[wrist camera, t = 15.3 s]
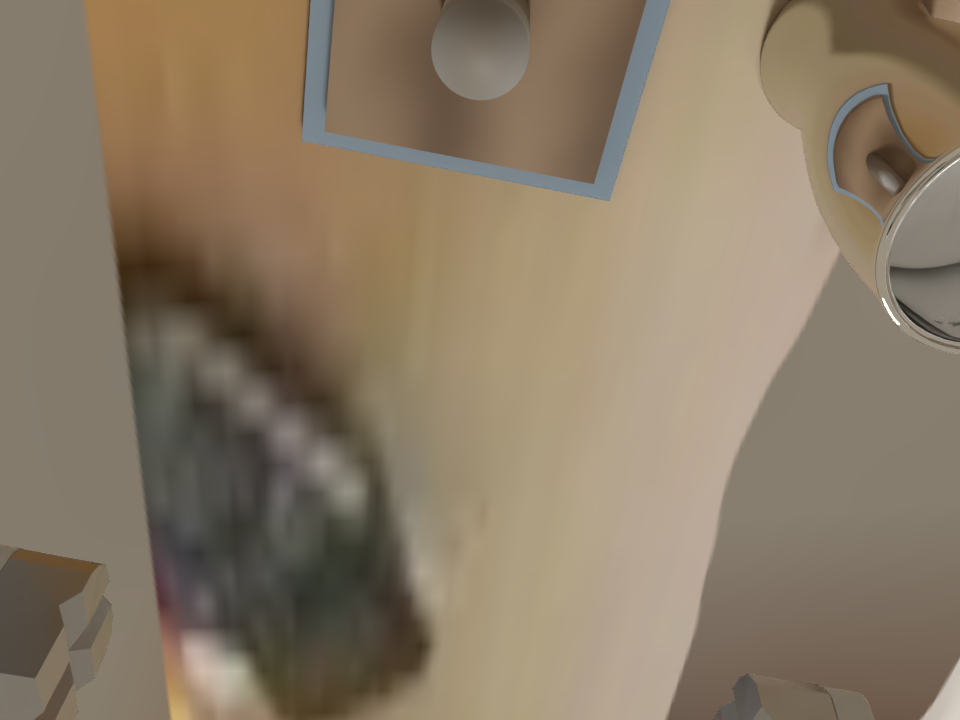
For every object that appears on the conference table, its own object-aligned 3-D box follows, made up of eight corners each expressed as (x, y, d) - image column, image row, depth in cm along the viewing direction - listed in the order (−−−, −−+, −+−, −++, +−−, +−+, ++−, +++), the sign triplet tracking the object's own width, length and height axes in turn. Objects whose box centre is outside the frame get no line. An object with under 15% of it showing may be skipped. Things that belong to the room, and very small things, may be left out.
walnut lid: (677, -122, 29) (698, -98, 25) (592, 175, 36) (599, 230, 32) (353, -193, 28) (324, -180, 24) (328, 124, 35) (302, 173, 31)
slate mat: (713, -152, 29) (716, -150, 28) (608, 195, 37) (609, 201, 36) (328, -239, 28) (325, -238, 28) (304, 136, 36) (301, 140, 35)
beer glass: (765, -46, 31) (912, 102, 19) (965, -47, 30) (1247, 103, 18) (733, 140, 35) (837, 360, 23) (909, 141, 34) (1109, 365, 22)
